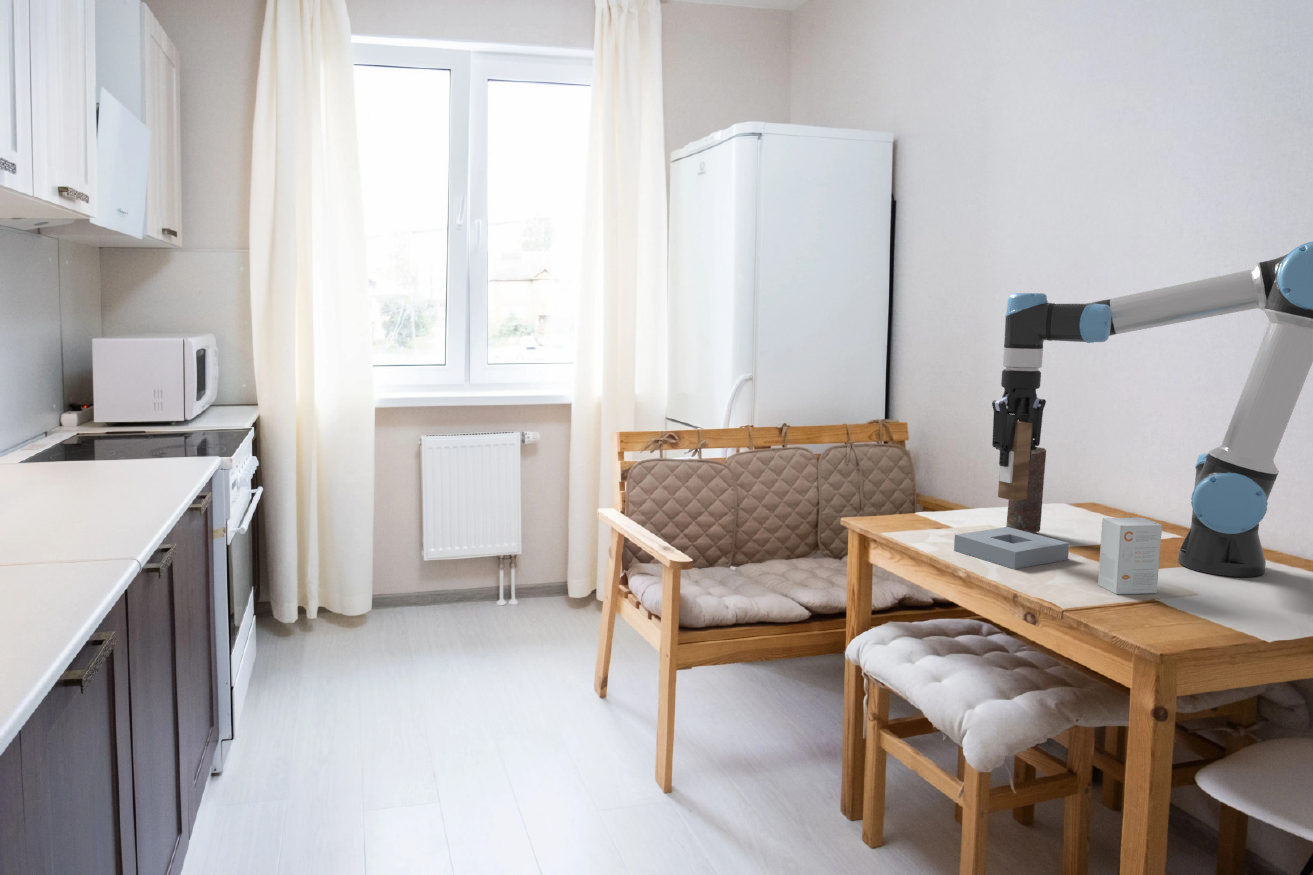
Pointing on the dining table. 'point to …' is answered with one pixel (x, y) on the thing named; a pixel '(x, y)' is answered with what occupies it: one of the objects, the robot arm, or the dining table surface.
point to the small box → (1129, 555)
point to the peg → (1018, 464)
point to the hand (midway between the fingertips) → (1013, 480)
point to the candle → (1029, 497)
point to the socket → (1011, 547)
